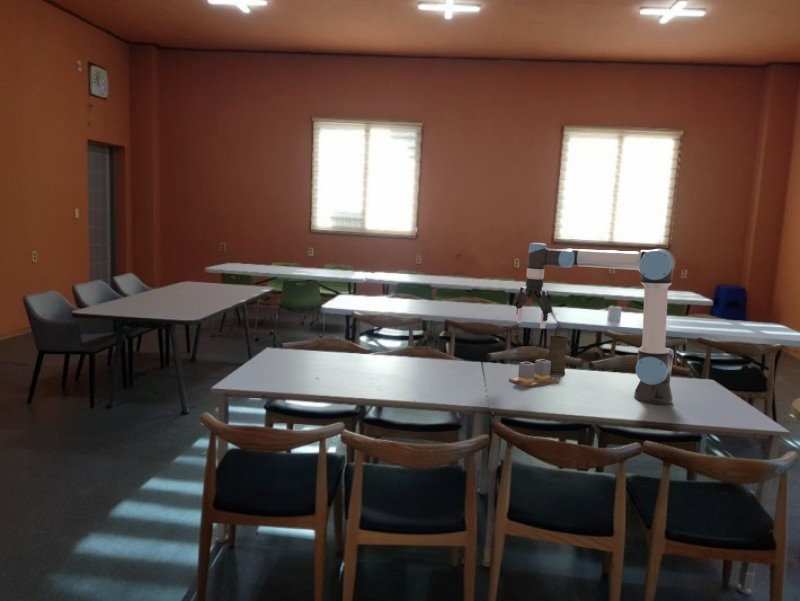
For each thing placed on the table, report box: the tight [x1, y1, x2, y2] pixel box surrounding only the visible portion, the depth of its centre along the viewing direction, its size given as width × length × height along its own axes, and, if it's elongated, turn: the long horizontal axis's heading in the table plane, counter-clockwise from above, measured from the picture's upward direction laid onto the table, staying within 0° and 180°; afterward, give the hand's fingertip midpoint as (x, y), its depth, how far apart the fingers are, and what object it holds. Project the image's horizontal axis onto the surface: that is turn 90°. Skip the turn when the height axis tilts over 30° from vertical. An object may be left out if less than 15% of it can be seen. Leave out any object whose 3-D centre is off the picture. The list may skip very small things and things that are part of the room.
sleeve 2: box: [534, 358, 551, 380], centre depth 276 cm, size 5×5×8 cm
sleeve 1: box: [517, 361, 535, 383], centre depth 270 cm, size 5×5×8 cm
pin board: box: [508, 376, 559, 389], centre depth 274 cm, size 12×20×6 cm, turn 127°
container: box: [548, 335, 569, 377], centre depth 290 cm, size 9×9×18 cm
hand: (530, 325), depth 267 cm, fingers open, 13 cm apart
